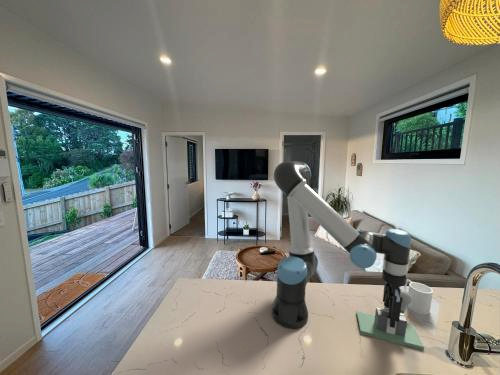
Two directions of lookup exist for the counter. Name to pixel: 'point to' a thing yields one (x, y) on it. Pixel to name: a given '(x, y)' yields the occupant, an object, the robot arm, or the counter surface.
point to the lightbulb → (404, 300)
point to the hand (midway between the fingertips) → (388, 327)
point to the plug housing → (382, 321)
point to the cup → (419, 297)
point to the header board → (369, 329)
